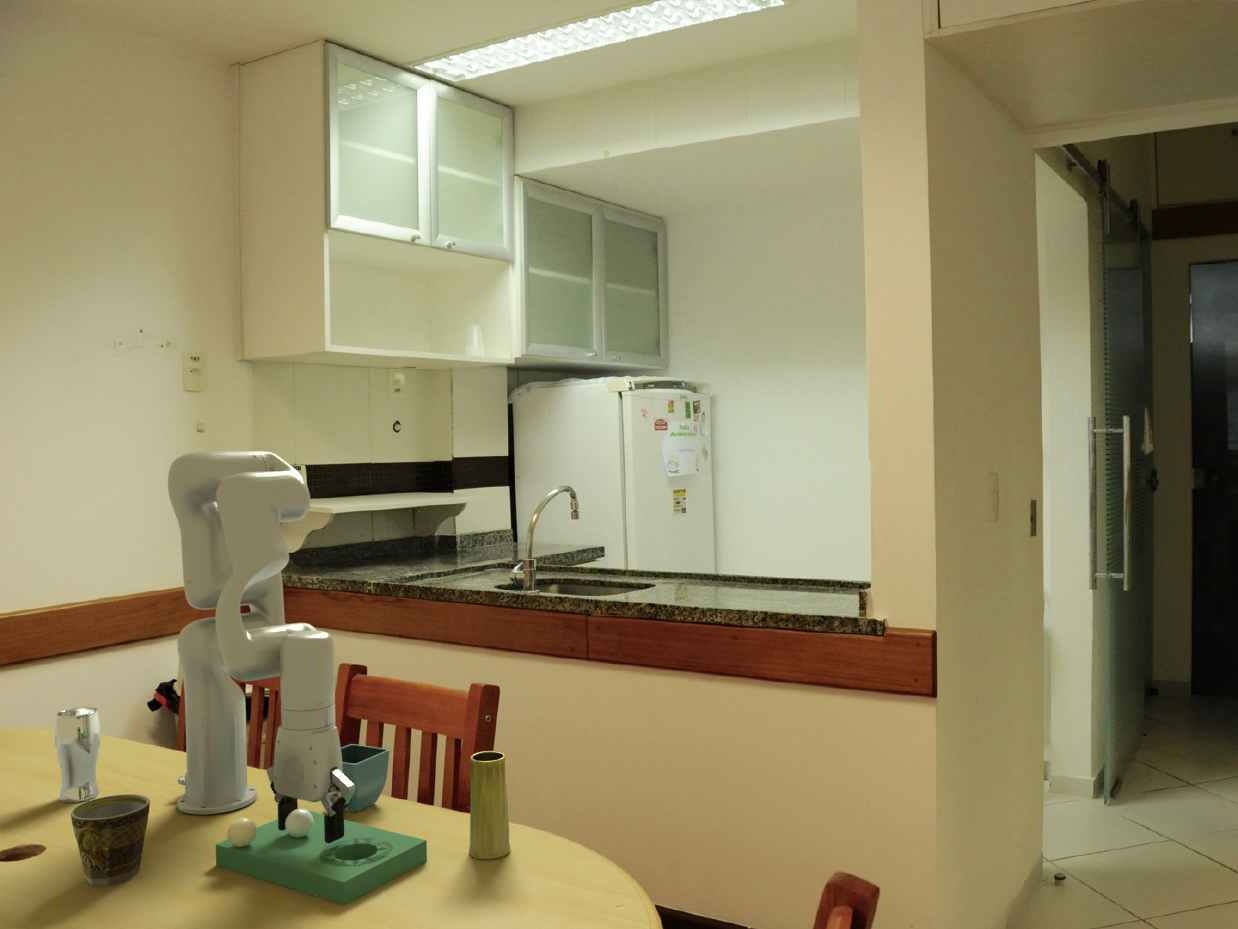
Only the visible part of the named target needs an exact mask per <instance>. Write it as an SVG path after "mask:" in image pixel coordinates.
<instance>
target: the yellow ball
mask: <svg viewBox="0 0 1238 929" xmlns="http://www.w3.org/2000/svg"><path fill="white" fill-rule="evenodd" d="M257 827H258V826H257V825H256V822H254V821H253V819H251V818H248V817H240V818H237V819H235V820H233V822H231V824H230V825H229V827H228V829H227V834H226V835H227V840H229V841H230V843H231V844H232V845H234V846H236V847H245V846H247V845H249V844H251V843H252V842H253V840H254V839H255V837H256V834H257Z"/></svg>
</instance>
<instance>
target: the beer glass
mask: <svg viewBox="0 0 1238 929" xmlns="http://www.w3.org/2000/svg"><path fill="white" fill-rule="evenodd" d="M99 714H100V713H99V708H98V707H95V706H79V707H72V708H71V707H70V708H67V709H63V710H60V711H58V712H56V713H55V725H54V743H55V752H56V756H57V762H58V765H59V769H60V775H61V787H60V794H59V801H60V802H61V803H64V802H65V803H67V804H72V803H73V804H75V802H76V803H81V802H80V801H83V802H86V801H85V800H87V801H89V800H88V799H90V800H92V799H91V798H93V797H95V798H96V796H97V795H98V794H99V795H100V790H99V789H100V788H99V786H98V781H97V780H98V779H97V764H98V758H99V754H100V752H99V751H100V746H101V725H100V723H101V722H100V715H99ZM99 795H98V796H99ZM98 796H97V797H98ZM93 799H94V798H93ZM65 803H64V804H65Z"/></svg>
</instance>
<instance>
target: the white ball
mask: <svg viewBox="0 0 1238 929" xmlns="http://www.w3.org/2000/svg"><path fill="white" fill-rule="evenodd" d="M309 811H310V810H308V809H305V808H298V809H296V810H294V811H292V812H291V813H290V814H289V815H288V816H287V818H286V821H285V828H286V831H287V832H288V833H289V834H290V835H291V836H293V837H297V838H299V837H303V836H305V835H307V834H308V833H309V832H310V831H311V829H312V827H313V823H314V820H313V816H312V814H311V813H310V812H309Z"/></svg>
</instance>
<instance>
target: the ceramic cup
mask: <svg viewBox="0 0 1238 929" xmlns="http://www.w3.org/2000/svg"><path fill="white" fill-rule="evenodd" d="M150 804H151V800H150V799H149V798H148V797H147V796H146V795H145V796H144V795H140V794H133V793H132V794H130V793H128V794H127V793H126V794H115V795H114V794H113V795H109V796H101V797H99V798H93V799H90V800H87V801H84V802H83V803H81V804H79V805H77V806H76V807H74V808H73V809H72V810H71V811H70V818H71V824H72V828H73V832H74V837H75V839H76V844H77V847H78V852H79V855H80V861H81V865H82V869H83V874H84V878H85V880H86V882H88V884H89V885H91V886H92V887H111V886H115V885H117V884H121V883H125V882H127V881H130V880H132V879H133V877H135V876H136V875H137V874H138V873H139V871H140V869H141V865H142V857H143V849H144V845H145V844H144V843H145V836H146V831H147V826H148V822H149V814H150Z"/></svg>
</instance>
